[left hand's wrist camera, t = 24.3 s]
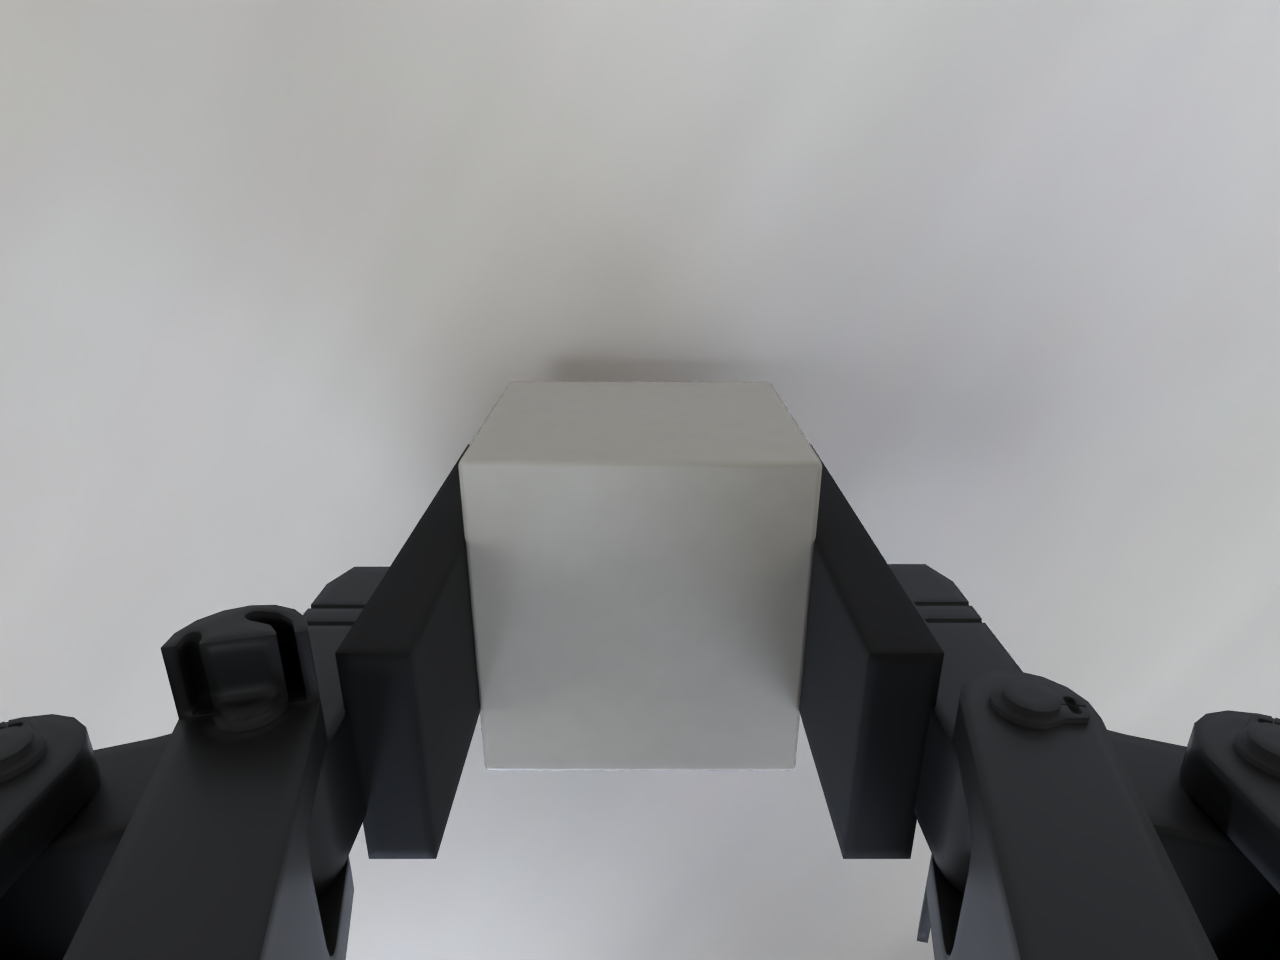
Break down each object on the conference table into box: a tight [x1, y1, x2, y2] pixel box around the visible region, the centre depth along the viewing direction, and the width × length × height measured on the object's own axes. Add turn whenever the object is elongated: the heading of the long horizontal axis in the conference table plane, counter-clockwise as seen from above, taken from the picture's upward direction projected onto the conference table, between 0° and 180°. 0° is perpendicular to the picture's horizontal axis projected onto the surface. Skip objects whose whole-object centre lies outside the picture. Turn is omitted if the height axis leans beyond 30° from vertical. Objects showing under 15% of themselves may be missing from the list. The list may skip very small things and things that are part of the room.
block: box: [458, 382, 822, 770], centre depth 13 cm, size 5×5×4 cm
